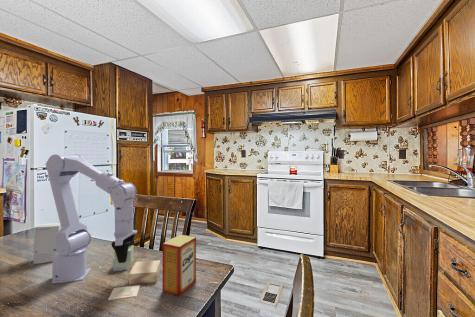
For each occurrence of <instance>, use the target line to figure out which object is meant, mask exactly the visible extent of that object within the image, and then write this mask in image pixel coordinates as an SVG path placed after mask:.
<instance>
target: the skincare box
mask: <svg viewBox="0 0 475 317" xmlns="http://www.w3.org/2000/svg"><path fill="white" fill-rule="evenodd" d="M60 229H61V224H60V222H48V223H47V222H46V223H39V224H38V225H36V226H35V227H34V241H33V261H32V262H33V265H38V264H44V263H51V262H52V263H53V259H54V257H55V255H56V254H57V253H58V252H57V251H56V248H55V244H56V238H55V235H56V234H57V233H58V232H59V231H60Z"/></svg>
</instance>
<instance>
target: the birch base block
mask: <svg viewBox="0 0 475 317" xmlns="http://www.w3.org/2000/svg"><path fill="white" fill-rule="evenodd" d="M161 260H162V259H158V260H143V261H141V260H140V261H135V263H134V264H133V266H132V268H131V270H130V271H129V273H128V285H134V284H137V285H138V284H147V283H148V284H149V283H157V282H158V279H159V277H160V276H159V275H160V272H161V269H162V268H161V267H162V266H161V265H162V262H161Z"/></svg>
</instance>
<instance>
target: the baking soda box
mask: <svg viewBox="0 0 475 317" xmlns="http://www.w3.org/2000/svg"><path fill="white" fill-rule="evenodd" d="M196 281H197V237H196V236H192V235H186V234H179V235H177V236H174V237H172V238H170V239H169V240H167V241H165V242H163V243H162V282H161V284H162V292H164V293H168V294H171V295H174V297H180V296H182V295H183V294H184V293H185V292H186V291H187V290H188V289H190V287H191V286H193V285H194V284H195V283H196Z"/></svg>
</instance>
